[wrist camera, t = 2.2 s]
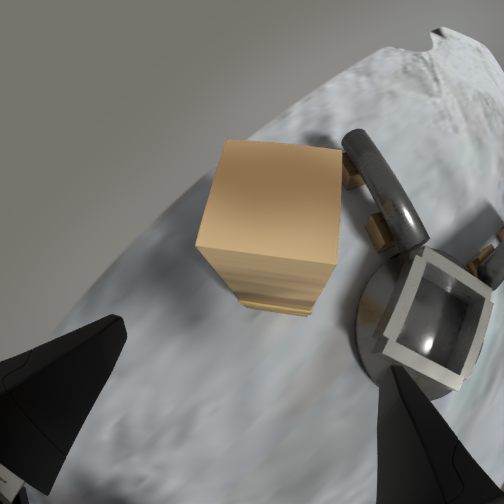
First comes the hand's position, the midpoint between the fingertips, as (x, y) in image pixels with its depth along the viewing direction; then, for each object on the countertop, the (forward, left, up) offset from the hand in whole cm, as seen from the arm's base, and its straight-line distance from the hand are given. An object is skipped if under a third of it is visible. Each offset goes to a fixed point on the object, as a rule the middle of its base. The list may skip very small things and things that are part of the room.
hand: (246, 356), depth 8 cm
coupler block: (+3, -4, -12) cm, 13 cm away
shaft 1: (+3, -14, -12) cm, 19 cm away
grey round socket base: (-7, -10, -12) cm, 17 cm away
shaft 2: (-8, -21, -12) cm, 25 cm away
